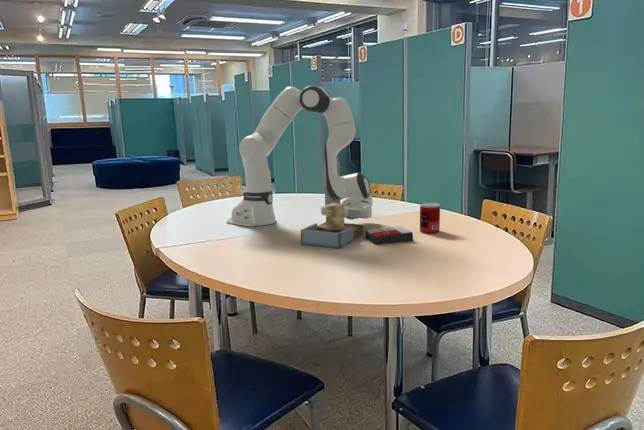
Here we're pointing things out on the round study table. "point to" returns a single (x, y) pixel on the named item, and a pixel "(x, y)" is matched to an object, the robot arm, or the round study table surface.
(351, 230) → the tray
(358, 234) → the walnut plate
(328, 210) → the oak block
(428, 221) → the canned food
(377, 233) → the calculator
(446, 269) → the round study table surface
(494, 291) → the round study table surface
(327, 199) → the thermos bottle
